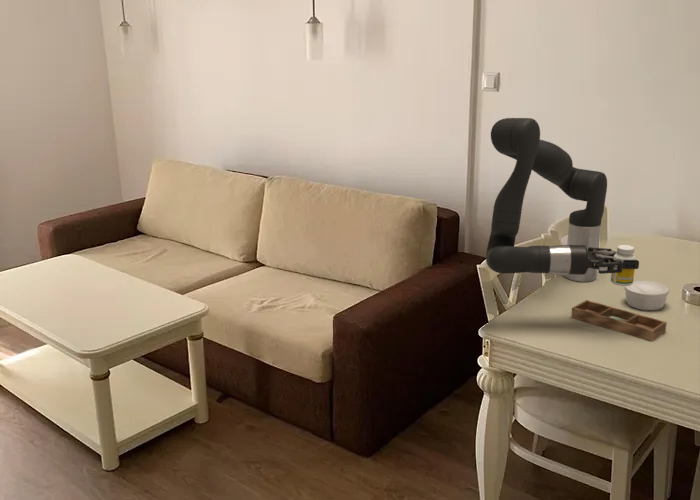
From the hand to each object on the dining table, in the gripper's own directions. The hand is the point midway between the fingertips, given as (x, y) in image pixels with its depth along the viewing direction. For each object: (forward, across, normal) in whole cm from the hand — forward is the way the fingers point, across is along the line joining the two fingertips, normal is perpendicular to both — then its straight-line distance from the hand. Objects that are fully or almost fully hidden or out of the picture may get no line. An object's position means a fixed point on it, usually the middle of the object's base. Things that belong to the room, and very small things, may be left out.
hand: (634, 260), depth 180 cm
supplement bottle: (-3, 0, +6) cm, 7 cm away
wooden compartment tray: (-3, 0, +18) cm, 18 cm away
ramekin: (+9, +14, +18) cm, 24 cm away
